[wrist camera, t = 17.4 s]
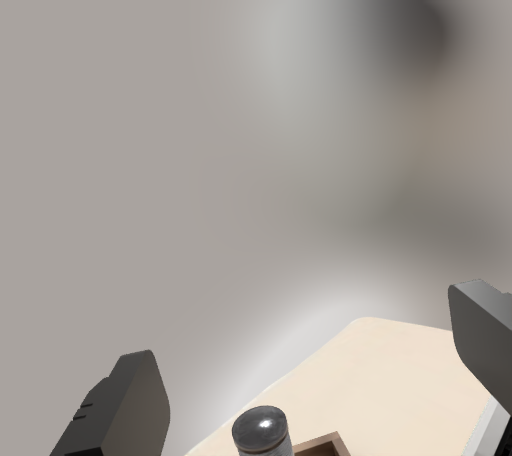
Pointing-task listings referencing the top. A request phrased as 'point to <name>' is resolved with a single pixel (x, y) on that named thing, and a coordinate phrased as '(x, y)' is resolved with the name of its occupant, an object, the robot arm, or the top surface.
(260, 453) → the steel canister
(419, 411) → the top surface
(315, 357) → the top surface
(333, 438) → the walnut tray
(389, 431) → the top surface
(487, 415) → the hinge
